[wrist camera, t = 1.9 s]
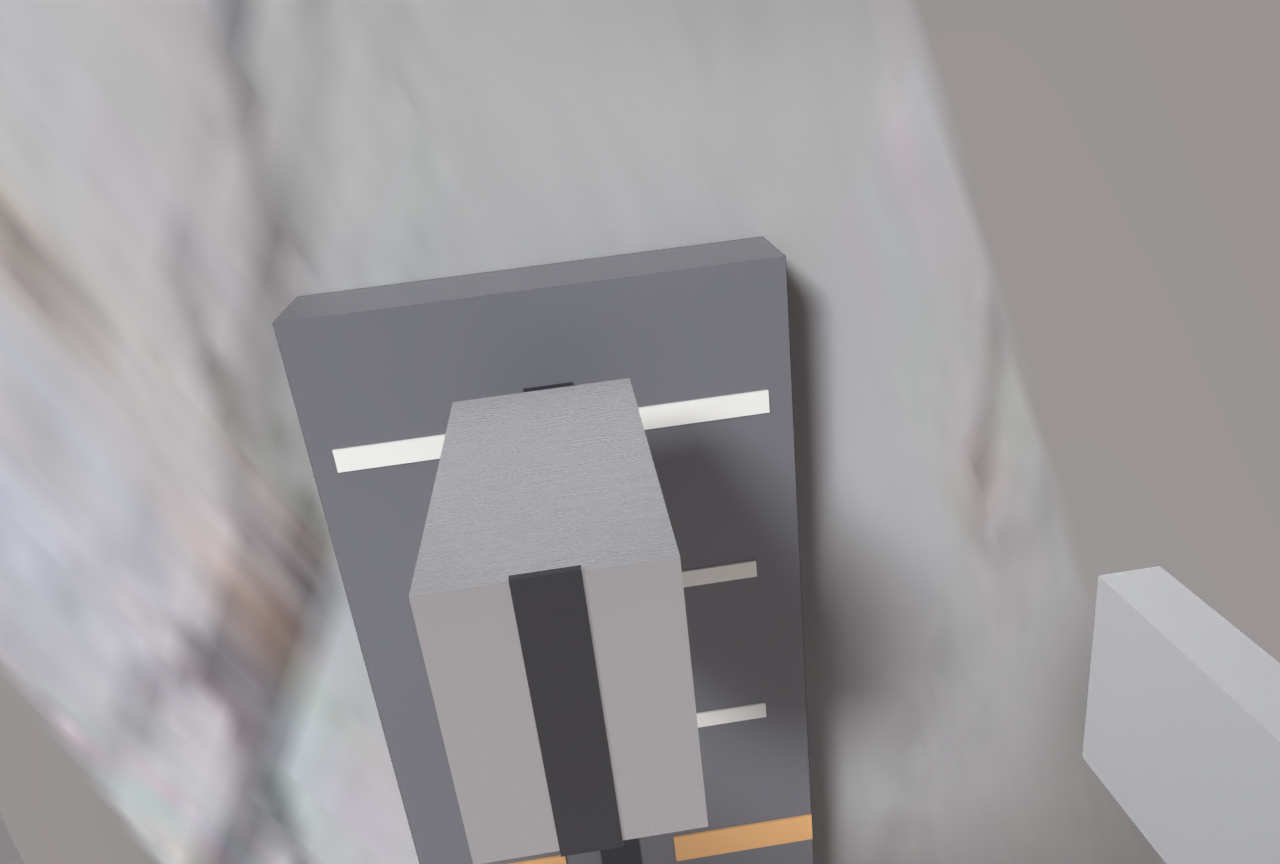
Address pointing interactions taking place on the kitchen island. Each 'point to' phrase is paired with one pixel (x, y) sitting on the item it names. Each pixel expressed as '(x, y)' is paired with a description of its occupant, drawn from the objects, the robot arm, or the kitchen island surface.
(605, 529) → the fader knob
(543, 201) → the kitchen island surface
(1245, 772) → the robot arm
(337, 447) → the fader console
